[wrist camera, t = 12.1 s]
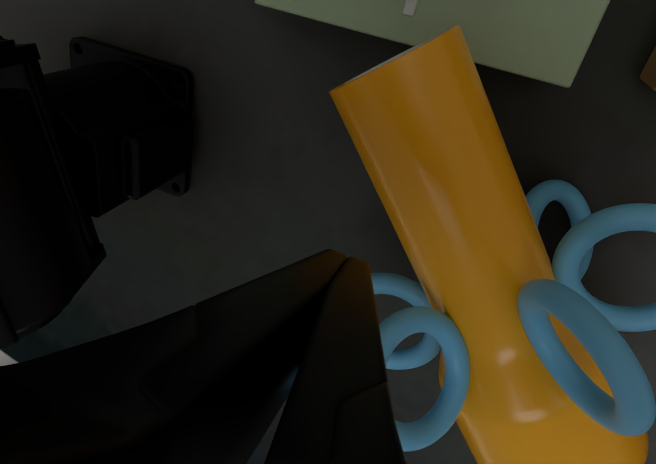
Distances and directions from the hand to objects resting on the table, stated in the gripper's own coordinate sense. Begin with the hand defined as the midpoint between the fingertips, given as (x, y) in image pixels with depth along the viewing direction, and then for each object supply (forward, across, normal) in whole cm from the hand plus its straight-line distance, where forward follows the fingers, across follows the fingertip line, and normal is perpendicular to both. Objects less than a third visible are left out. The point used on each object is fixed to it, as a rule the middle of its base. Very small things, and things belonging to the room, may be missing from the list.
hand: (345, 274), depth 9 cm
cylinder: (+7, -8, +9) cm, 14 cm away
